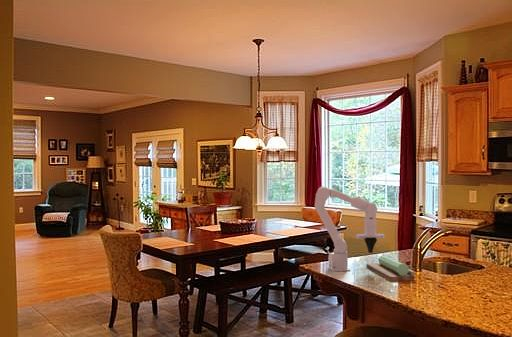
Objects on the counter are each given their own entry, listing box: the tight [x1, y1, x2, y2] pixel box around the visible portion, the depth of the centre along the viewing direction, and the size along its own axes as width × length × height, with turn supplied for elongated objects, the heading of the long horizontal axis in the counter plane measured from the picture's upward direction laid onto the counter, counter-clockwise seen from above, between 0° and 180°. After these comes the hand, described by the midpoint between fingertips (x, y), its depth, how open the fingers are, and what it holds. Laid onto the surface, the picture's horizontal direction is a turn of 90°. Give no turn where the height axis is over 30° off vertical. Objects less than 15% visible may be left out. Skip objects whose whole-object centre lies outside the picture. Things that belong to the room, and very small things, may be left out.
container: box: [377, 255, 410, 276], centre depth 224 cm, size 6×6×25 cm
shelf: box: [366, 262, 415, 282], centre depth 223 cm, size 12×28×4 cm, turn 9°
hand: (370, 252), depth 230 cm, fingers closed
